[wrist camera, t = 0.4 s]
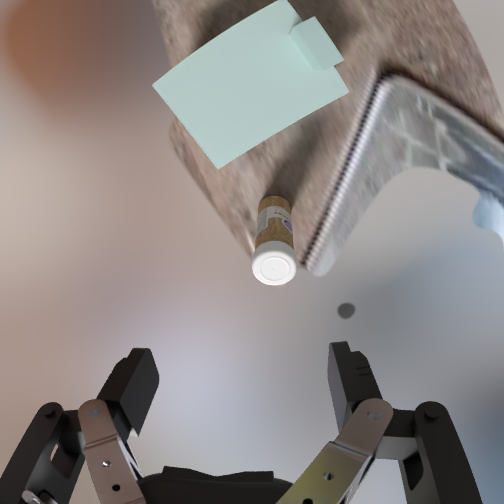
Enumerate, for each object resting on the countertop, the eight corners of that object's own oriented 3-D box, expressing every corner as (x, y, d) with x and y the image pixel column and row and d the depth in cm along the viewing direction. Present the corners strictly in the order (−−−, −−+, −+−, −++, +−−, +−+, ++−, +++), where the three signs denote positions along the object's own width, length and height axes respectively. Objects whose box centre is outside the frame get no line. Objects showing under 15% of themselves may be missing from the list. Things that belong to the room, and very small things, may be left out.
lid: (154, 84, 26) (125, 91, 20) (284, -2, 21) (287, -20, 15) (219, 167, 31) (206, 193, 25) (347, 91, 25) (368, 99, 20)
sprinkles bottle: (297, 206, 42) (306, 266, 30) (276, 229, 44) (278, 293, 33) (270, 187, 40) (270, 242, 29) (250, 212, 42) (242, 272, 31)
